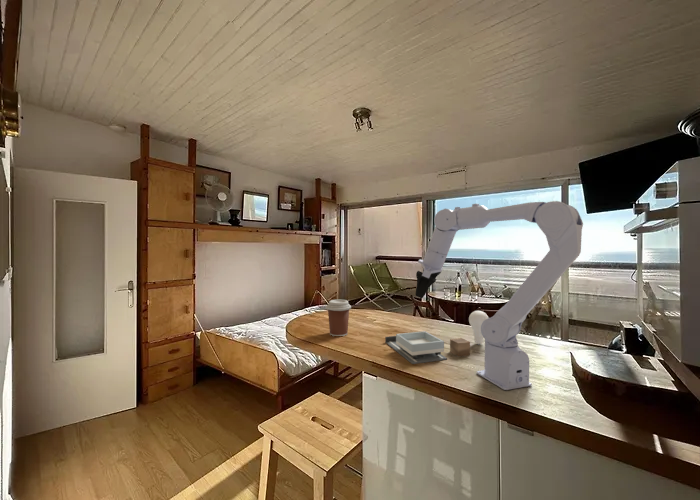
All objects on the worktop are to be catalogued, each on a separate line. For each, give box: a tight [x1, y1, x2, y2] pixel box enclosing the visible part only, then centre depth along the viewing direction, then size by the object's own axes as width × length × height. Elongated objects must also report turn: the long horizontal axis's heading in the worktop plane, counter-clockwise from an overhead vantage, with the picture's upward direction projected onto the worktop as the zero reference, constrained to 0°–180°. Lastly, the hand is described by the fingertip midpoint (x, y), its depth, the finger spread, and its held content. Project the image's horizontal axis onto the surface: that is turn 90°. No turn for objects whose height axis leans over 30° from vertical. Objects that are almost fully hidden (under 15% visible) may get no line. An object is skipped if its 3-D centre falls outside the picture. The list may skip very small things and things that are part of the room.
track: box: [384, 335, 448, 365], centre depth 93 cm, size 18×11×2 cm, turn 17°
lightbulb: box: [468, 310, 489, 345], centre depth 98 cm, size 6×6×11 cm
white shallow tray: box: [395, 330, 445, 358], centre depth 90 cm, size 10×10×4 cm
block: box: [449, 337, 471, 357], centre depth 90 cm, size 4×4×4 cm
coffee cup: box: [325, 299, 352, 337], centre depth 109 cm, size 9×9×12 cm
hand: (421, 292), depth 90 cm, fingers open, 7 cm apart
